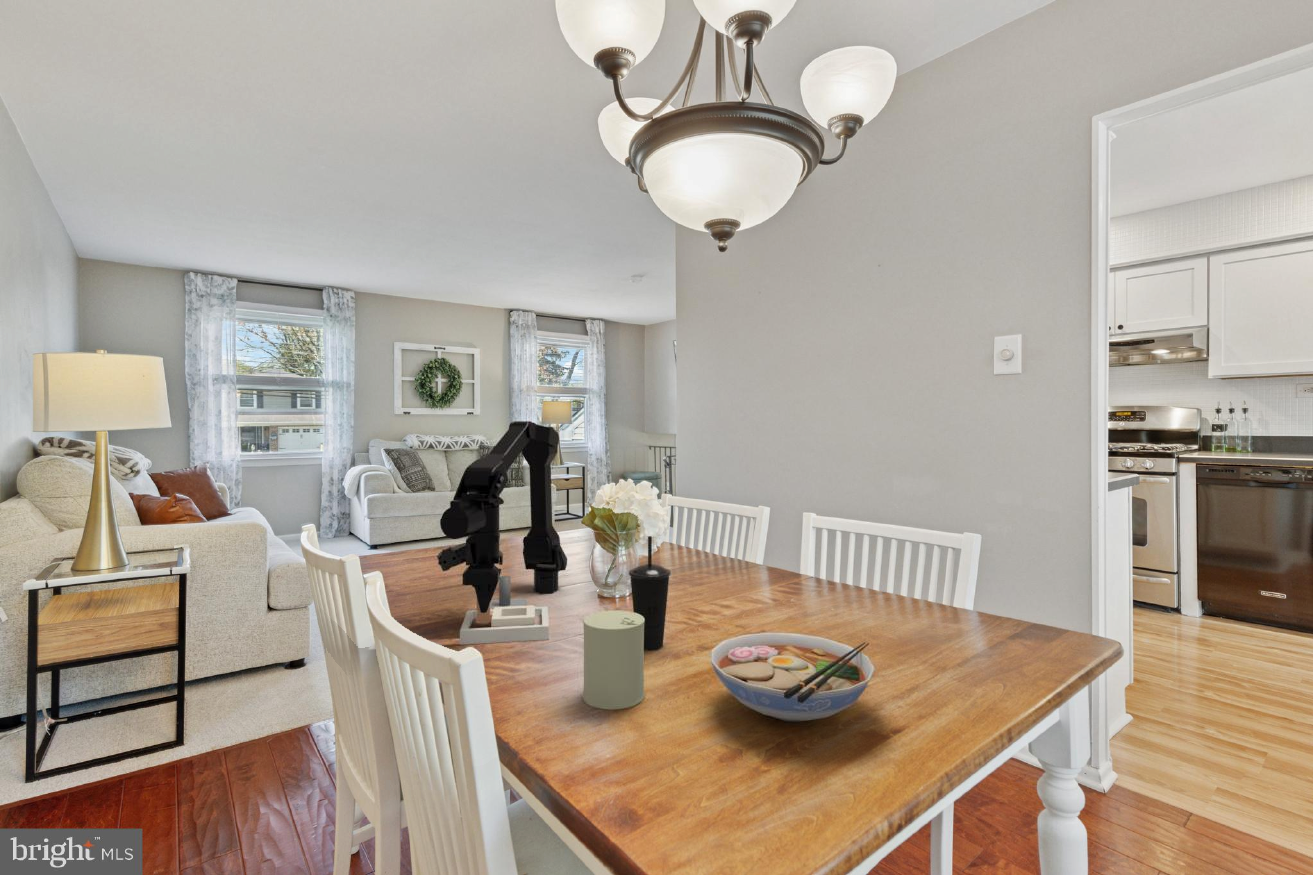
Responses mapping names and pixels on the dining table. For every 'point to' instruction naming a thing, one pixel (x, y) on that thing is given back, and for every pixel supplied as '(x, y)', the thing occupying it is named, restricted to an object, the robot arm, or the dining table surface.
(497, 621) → the ring
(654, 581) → the drinking cup
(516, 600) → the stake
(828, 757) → the dining table surface
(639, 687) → the can
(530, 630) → the tray
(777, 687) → the ramen bowl
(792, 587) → the dining table surface
